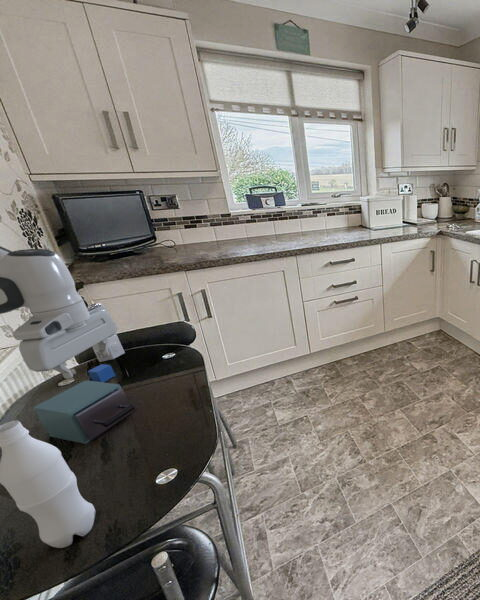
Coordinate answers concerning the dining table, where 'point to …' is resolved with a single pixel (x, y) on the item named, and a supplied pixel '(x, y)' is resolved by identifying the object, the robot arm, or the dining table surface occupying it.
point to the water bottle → (43, 486)
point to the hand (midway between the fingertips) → (88, 366)
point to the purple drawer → (103, 413)
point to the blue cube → (101, 373)
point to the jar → (110, 348)
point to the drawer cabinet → (71, 409)
